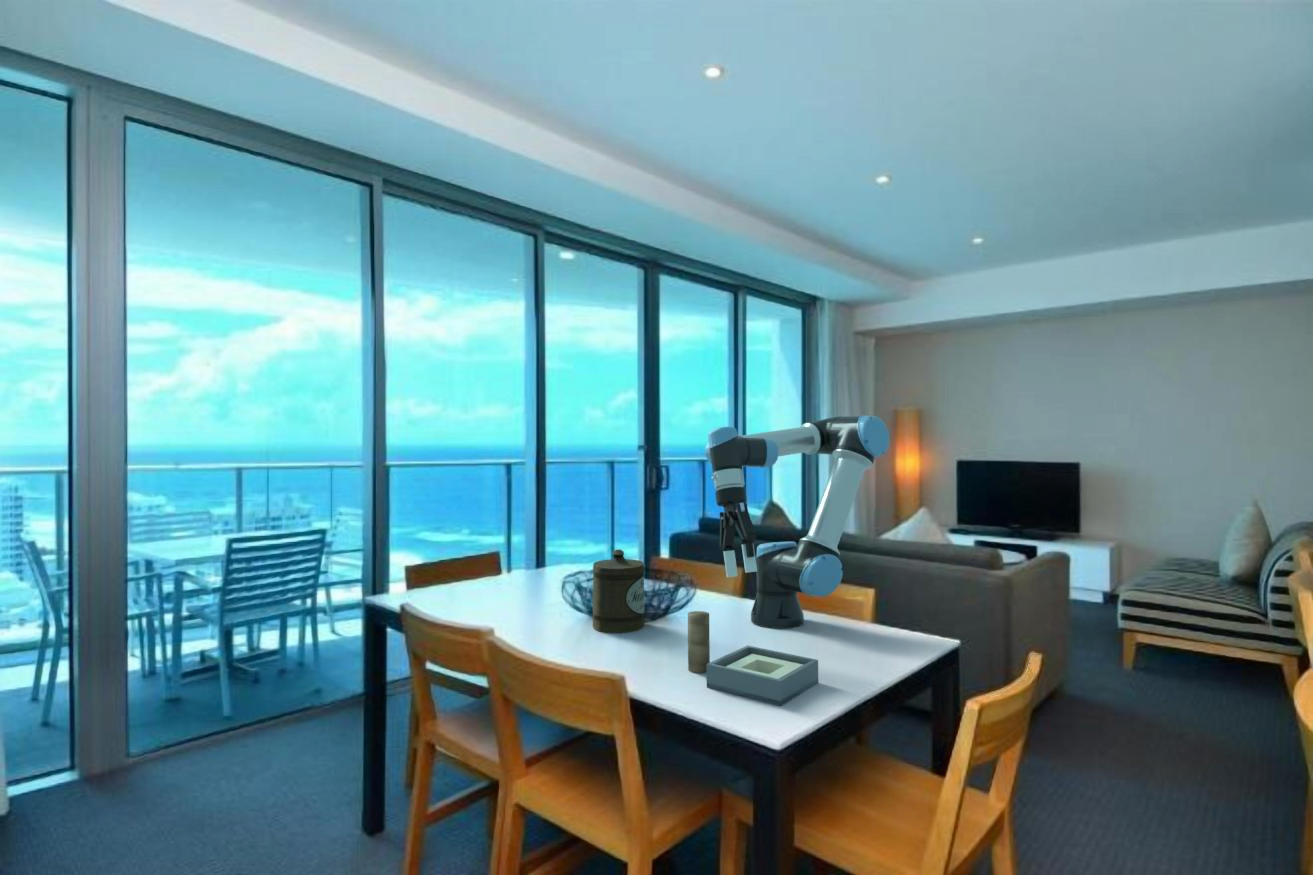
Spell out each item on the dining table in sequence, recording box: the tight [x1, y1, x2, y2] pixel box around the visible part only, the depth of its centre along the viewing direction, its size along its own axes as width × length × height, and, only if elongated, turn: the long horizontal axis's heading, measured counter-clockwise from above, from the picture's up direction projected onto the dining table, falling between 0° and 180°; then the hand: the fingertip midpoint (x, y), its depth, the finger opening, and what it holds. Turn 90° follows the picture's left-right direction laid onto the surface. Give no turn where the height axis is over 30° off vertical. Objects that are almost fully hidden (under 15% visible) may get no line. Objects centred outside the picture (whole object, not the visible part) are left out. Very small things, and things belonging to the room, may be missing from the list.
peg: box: [687, 610, 711, 674], centre depth 166 cm, size 5×5×13 cm
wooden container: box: [592, 549, 645, 634], centre depth 205 cm, size 15×15×22 cm
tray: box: [706, 645, 819, 707], centre depth 156 cm, size 17×18×5 cm
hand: (741, 574), depth 173 cm, fingers open, 13 cm apart
